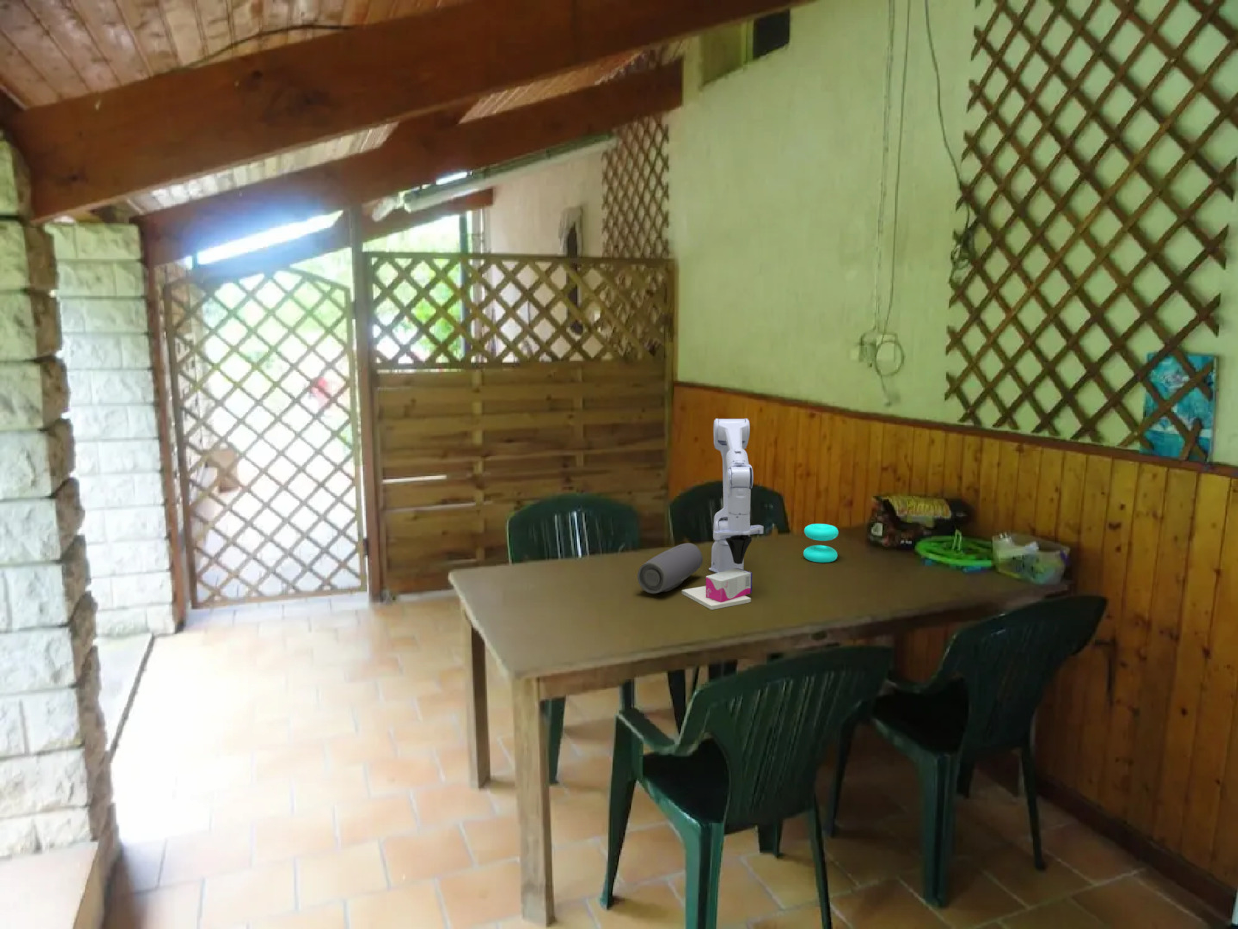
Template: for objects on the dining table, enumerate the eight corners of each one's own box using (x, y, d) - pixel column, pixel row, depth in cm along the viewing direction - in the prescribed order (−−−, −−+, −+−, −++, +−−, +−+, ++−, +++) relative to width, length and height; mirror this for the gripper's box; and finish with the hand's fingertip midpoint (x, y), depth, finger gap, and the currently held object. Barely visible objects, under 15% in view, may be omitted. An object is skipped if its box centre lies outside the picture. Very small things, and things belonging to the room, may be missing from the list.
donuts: (845, 528, 244) (818, 532, 240) (844, 561, 246) (817, 565, 242) (824, 521, 253) (797, 524, 249) (822, 552, 255) (796, 556, 251)
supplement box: (735, 567, 217) (705, 575, 210) (752, 572, 213) (722, 580, 206) (735, 588, 218) (704, 597, 211) (752, 593, 214) (721, 603, 207)
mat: (681, 593, 217) (681, 590, 217) (719, 586, 223) (719, 583, 222) (711, 609, 205) (711, 606, 205) (750, 602, 210) (750, 598, 210)
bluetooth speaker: (674, 572, 236) (674, 538, 234) (704, 577, 231) (704, 543, 229) (635, 595, 216) (635, 558, 215) (666, 601, 212) (666, 563, 210)
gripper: (724, 518, 206) (723, 570, 209) (771, 512, 213) (769, 563, 215) (708, 513, 212) (708, 563, 215) (754, 507, 219) (753, 556, 221)
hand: (737, 563), depth 215 cm, fingers closed
